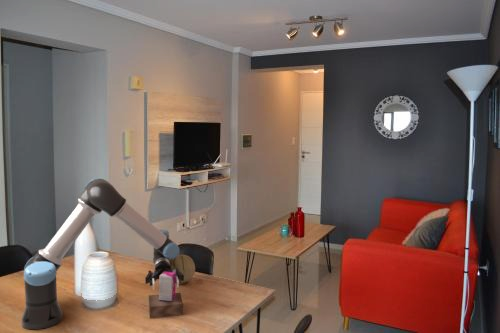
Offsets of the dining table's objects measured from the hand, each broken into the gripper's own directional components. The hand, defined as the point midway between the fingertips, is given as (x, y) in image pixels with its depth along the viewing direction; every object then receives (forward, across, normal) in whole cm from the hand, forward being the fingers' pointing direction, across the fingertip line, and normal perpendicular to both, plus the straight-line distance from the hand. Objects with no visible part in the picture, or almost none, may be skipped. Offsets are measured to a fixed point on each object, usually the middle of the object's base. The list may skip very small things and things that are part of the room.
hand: (166, 285), depth 179 cm
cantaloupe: (-35, -10, -13) cm, 39 cm away
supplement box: (-5, -1, -8) cm, 9 cm away
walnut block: (-4, 0, -13) cm, 14 cm away
